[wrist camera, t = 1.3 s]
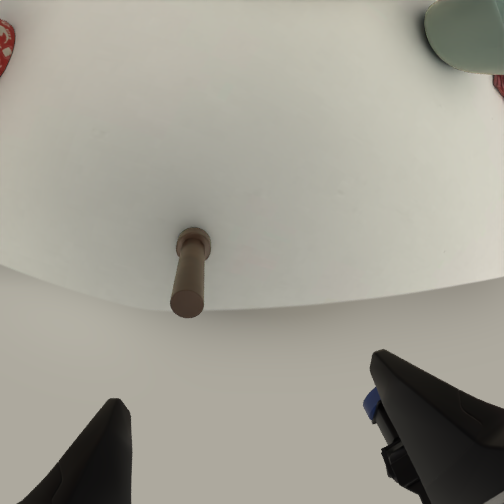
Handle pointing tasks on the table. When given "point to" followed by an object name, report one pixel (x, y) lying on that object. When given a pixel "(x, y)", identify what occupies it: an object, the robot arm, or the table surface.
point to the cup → (468, 34)
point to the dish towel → (499, 83)
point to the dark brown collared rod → (190, 273)
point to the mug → (6, 44)
